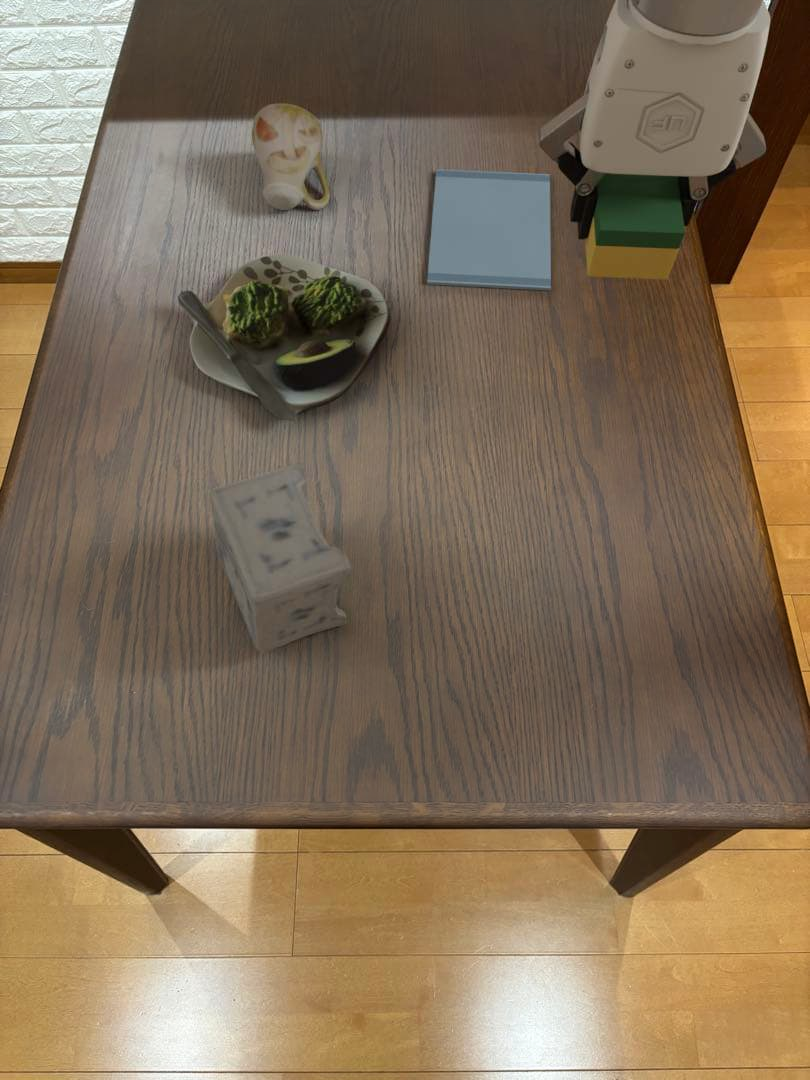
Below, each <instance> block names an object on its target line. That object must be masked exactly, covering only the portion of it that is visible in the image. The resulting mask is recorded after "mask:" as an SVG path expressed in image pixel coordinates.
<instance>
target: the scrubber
mask: <svg viewBox="0 0 810 1080" xmlns="http://www.w3.org/2000/svg"><path fill="white" fill-rule="evenodd" d="M597 190H598V198H597V203H596V207H595V211H594V216H593V219H592V223H591V227H590V231H589V235H588V238H586V239H584V240H585V241H584V242H585V243H584V244H585V258H586V275H587V277H592V278H593V277H594V278H596V277H598V278H616V279H617V278H620V279H640V280H641V279H644V280H645V279H647V280H668V279H669V277H670V273H671V271H672V269H673V266H674V263H675V261H676V258H677V256H678V253H679V250H680V247H681V245H682V242H683V239H684V237H685V235H686V229H685V226H684V221H683V214H682V206H681V199H680V192H679V184H678V177H677V176H655V175H630V174H609V173H606V174H605V175H604V176H603V178H602V179H601V180H600V182H599V183H598V184H597Z"/></svg>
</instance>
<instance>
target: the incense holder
mask: <svg viewBox="0 0 810 1080" xmlns="http://www.w3.org/2000/svg"><path fill="white" fill-rule="evenodd" d="M309 480H310V479H309V476H308V473H307V472H306V469H305V467H304V465H303V464H302V463H301V462H298V463H293V464H290V465H289V464H288V465H286V466H282V467H279V468H276V469H274V470H269V471H267V472H263V473H259V474H256V475H253V476H250V477H248V478H244V479H240V480H236V481H233V482H232V483H228V484H224V485H221V486H217V487H216V486H215V487H213V488H211V489H210V492H209V502H210V509H211V515H212V519H213V520H212V523H213V529H214V537H215V539H214V540H215V549H216V554H217V557H218V560H219V563H220V566H221V567H222V569H223V571H224V574H225V575H226V578H227V580H228V583H229V585H230V588H231V590H232V592H233V595H234V597H235V600H236V603H237V605H238V608H239V610H240V612H241V615H242V617H243V620H244V623H245V626H246V628H247V631H248V633H249V636H250V639H251V641H252V644H253V646H254V648H255V649H256V650H257V651H258V652H259V653H260V654H267V653H269V652H272V651H273V650H275V649H279V648H280V647H283V646H286V645H288V644H290V643H292V642H294V641H299V640H300V639H302V638H305V637H307V636H311V635H314V634H317V633H321V632H324V631H326V630H330V629H334V628H337V627H342V626H345V625H347V622H348V616H347V613H346V612H345V611H344V610H343V609H341V608H340V607H338V605H337V602H338V599H339V598H338V590H339V589H340V587H341V586H343V585H345V584H347V583H349V582H350V580H351V578H352V565H351V562H350V560H349V558H348V556H347V554H346V553H345V552H344V551H342V550H341V549H340V548H339V547H338V546H331V545H330V544H329V543H328V542H327V540H326V538H325V537H324V535H323V534H322V532H321V530H320V527H319V525H318V522H317V520H316V518H315V517H314V514H313V513H314V512H313V511H312V509H311V506H310V504H309V503H308V501H307V499H306V497H305V495H304V493H303V487H304V485H306V484H307V482H309Z"/></svg>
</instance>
